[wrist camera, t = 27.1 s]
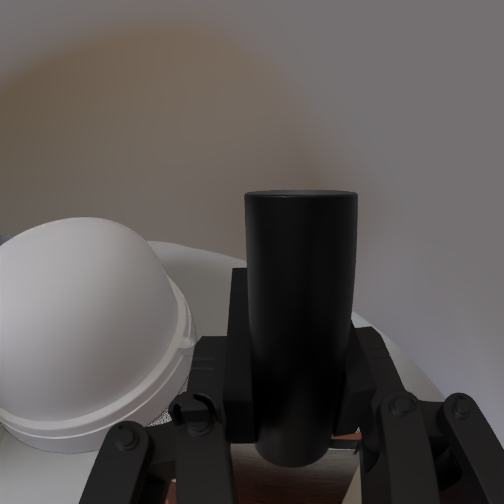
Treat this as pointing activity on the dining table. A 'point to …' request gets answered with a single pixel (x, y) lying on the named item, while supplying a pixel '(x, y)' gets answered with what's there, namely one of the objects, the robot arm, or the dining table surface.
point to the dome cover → (87, 334)
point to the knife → (298, 345)
